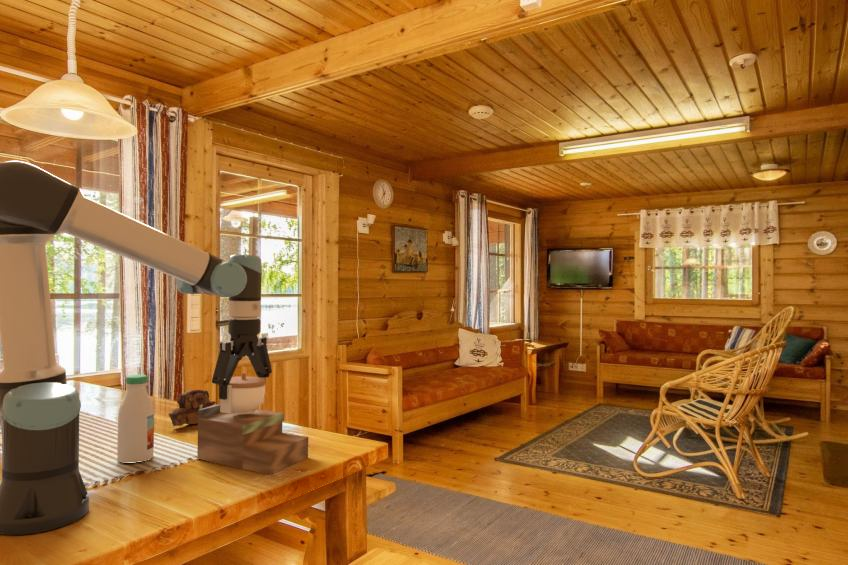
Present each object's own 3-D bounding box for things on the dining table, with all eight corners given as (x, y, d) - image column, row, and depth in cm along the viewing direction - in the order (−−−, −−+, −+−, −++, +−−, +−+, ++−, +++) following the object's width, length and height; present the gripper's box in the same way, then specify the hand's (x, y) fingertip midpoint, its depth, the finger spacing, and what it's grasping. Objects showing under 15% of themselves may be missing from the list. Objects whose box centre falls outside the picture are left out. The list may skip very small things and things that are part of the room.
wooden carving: (180, 431, 162) (181, 396, 162) (167, 430, 163) (167, 394, 163) (218, 418, 177) (219, 385, 177) (206, 417, 179) (206, 384, 179)
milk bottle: (138, 466, 133) (140, 379, 133) (109, 463, 135) (110, 377, 134) (160, 455, 141) (161, 373, 140) (132, 453, 142) (133, 372, 142)
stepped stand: (270, 474, 129) (271, 421, 129) (197, 459, 139) (198, 409, 138) (308, 457, 142) (309, 408, 142) (239, 444, 151) (239, 398, 151)
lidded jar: (238, 418, 134) (239, 378, 134) (209, 411, 140) (211, 372, 140) (274, 411, 143) (275, 373, 143) (246, 405, 149) (247, 368, 149)
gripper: (221, 322, 129) (219, 420, 129) (287, 316, 150) (285, 400, 151) (196, 320, 132) (194, 415, 133) (264, 314, 153) (262, 397, 154)
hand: (242, 407), depth 142 cm, fingers open, 11 cm apart
